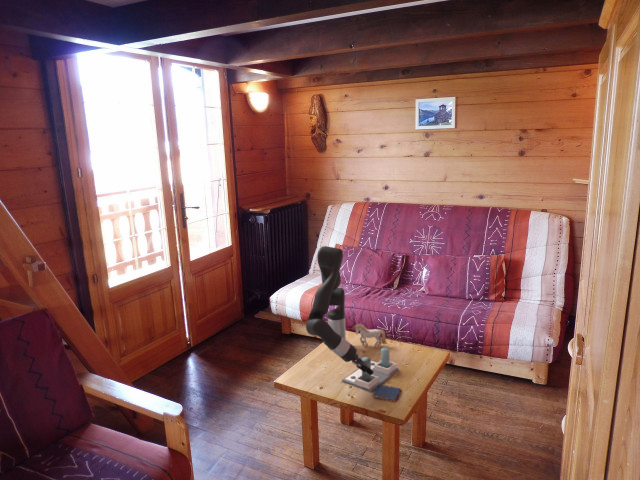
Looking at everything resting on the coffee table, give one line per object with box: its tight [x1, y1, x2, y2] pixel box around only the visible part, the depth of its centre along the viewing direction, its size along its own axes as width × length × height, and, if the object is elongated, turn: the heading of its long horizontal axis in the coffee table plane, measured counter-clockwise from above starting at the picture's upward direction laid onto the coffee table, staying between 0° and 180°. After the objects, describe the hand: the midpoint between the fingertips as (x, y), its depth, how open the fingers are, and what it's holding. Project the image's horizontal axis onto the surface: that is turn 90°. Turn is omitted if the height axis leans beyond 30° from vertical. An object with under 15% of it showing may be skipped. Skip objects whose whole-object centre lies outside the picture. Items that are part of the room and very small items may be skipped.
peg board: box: [341, 347, 400, 393], centre depth 212 cm, size 16×24×11 cm, turn 140°
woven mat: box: [372, 384, 403, 403], centre depth 197 cm, size 10×11×2 cm
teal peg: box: [361, 356, 372, 382], centre depth 204 cm, size 4×4×10 cm
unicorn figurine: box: [351, 323, 388, 349], centre depth 243 cm, size 7×20×13 cm, turn 99°
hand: (370, 370), depth 204 cm, fingers closed on teal peg, 4 cm apart
